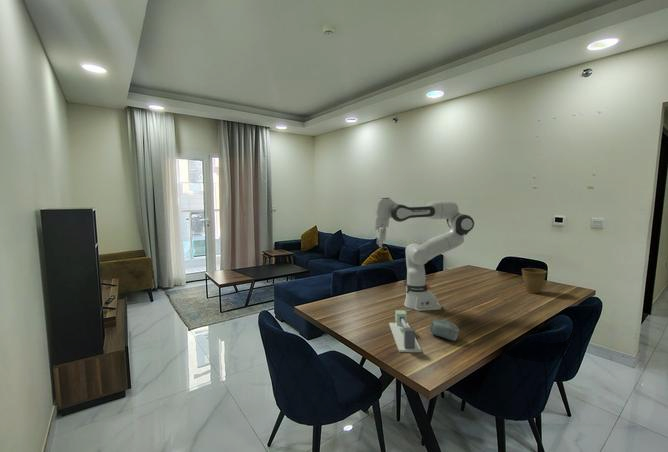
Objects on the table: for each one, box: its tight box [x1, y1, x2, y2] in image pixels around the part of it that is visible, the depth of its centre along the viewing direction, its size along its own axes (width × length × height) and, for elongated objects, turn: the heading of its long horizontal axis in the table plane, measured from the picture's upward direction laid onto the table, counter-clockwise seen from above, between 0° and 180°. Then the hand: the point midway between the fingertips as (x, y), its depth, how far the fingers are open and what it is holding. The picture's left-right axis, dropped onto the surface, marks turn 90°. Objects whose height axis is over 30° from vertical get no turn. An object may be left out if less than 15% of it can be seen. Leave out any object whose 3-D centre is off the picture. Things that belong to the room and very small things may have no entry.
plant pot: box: [521, 267, 547, 294], centre depth 224 cm, size 15×15×16 cm
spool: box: [430, 319, 460, 342], centre depth 155 cm, size 14×10×10 cm
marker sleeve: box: [394, 309, 408, 324], centre depth 164 cm, size 5×5×5 cm
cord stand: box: [388, 317, 422, 353], centre depth 156 cm, size 10×30×10 cm, turn 179°
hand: (379, 245), depth 196 cm, fingers open, 8 cm apart
